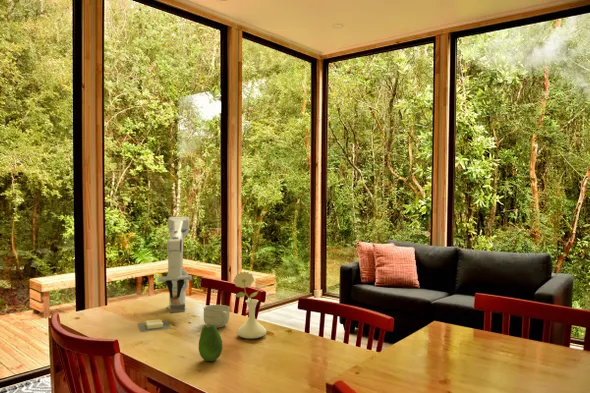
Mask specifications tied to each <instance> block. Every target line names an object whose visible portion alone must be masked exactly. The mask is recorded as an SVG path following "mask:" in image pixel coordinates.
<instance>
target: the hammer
mask: <svg viewBox="0 0 590 393" xmlns="http://www.w3.org/2000/svg"><path fill="white" fill-rule="evenodd" d="M172 294H173V298H170V300H171V304H172V305H170V310H169V313H170V314H179V313H185V312H186V311H185V310H186V309H185V306H186V302H185V303H184V304H180V302H179V299H178V296H177V293H176V291H172Z"/></svg>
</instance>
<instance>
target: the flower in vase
mask: <svg viewBox="0 0 590 393" xmlns="http://www.w3.org/2000/svg"><path fill="white" fill-rule="evenodd" d="M254 282H255V278H254V275H253V274H252V273H250V272H249V271H247V272H246V271H243V272H242V271H241V272H239V273H237V274H236V275H235V276H234V278H233V284H234V286H235V287H237V288H240V289H244V292H243V291H240V292H238V293H236V294H235V295H234V298H235V297H236V298H240V299H241V298H244V297H245V296H246V297H247V299H246V300H245V303H246V305H247V309H248V319H247V321H246V322H245V323H244V324H243V323H242V325H241V326H240V327H239V328H238V329H237V330H236V334H237V335H238V337H240V338H244V339H251V340H252V339H259V338H262V337H264V336H266V334H267V329H266V328H265V327H264V326H263V325H262V324H261V323H260V322H258V321H257V319H256V316H255V314H256V307H257V305H258V303H259V300H258V299H253V298H254V297H256V296H257V295H258V294H259V291H258V290H257V291H255V292H253V293H251V294H250V295H249V294H248V293H247V291H246V288H248V287H249V286H252V285H253V283H254Z"/></svg>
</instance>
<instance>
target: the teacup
mask: <svg viewBox="0 0 590 393" xmlns="http://www.w3.org/2000/svg"><path fill="white" fill-rule="evenodd" d="M230 309H231V307H230V306H229V305H225V304H224V305H223V304H210V305H205V306H203V322H204V324H205V325H208V324H212V325H214V326H215V327H216V328H217V329H218V328H224V327H225V326H226V325H227V324H228V323H229V320H230V313H231V312H230Z"/></svg>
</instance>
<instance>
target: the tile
mask: <svg viewBox="0 0 590 393" xmlns="http://www.w3.org/2000/svg"><path fill="white" fill-rule="evenodd" d="M162 321H163V320H162V319H160V318H159V319H158V318H157V319H149V320H145V322H146V326H147V329H154V328H162V327H163V322H162Z"/></svg>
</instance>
